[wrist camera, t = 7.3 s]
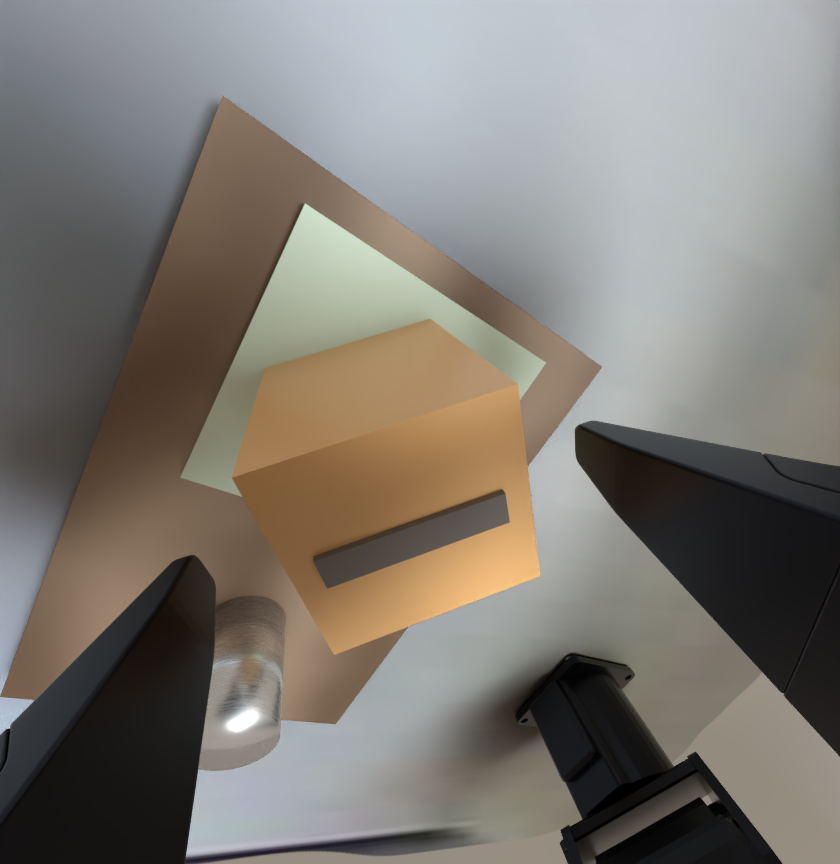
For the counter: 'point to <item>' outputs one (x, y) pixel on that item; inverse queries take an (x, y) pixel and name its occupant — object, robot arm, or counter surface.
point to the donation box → (390, 480)
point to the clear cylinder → (244, 683)
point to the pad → (332, 329)
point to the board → (193, 400)
